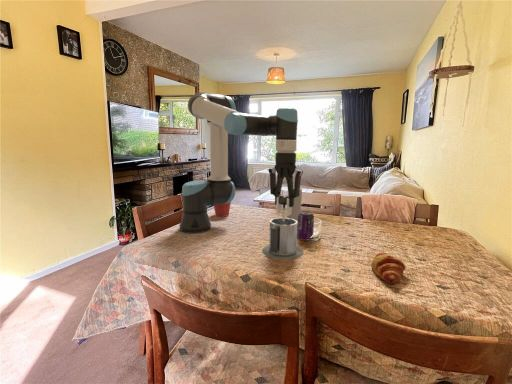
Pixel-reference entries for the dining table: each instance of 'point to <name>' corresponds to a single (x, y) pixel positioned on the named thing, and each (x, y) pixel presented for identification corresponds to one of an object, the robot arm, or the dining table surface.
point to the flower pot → (222, 209)
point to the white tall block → (296, 207)
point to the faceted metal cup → (283, 237)
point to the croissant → (388, 267)
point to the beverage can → (305, 225)
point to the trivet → (267, 253)
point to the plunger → (283, 202)
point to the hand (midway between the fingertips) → (283, 214)
